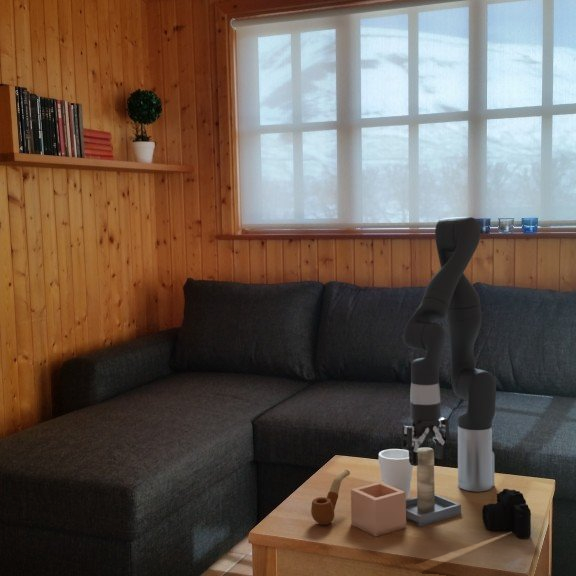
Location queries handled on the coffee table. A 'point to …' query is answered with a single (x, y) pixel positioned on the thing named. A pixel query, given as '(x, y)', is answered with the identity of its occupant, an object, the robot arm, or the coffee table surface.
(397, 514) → the deep box
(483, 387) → the robot arm
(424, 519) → the tray
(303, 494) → the coffee table surface
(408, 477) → the foam cup
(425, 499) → the maple dowel
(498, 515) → the film camera
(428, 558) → the coffee table surface
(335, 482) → the smoking pipe
